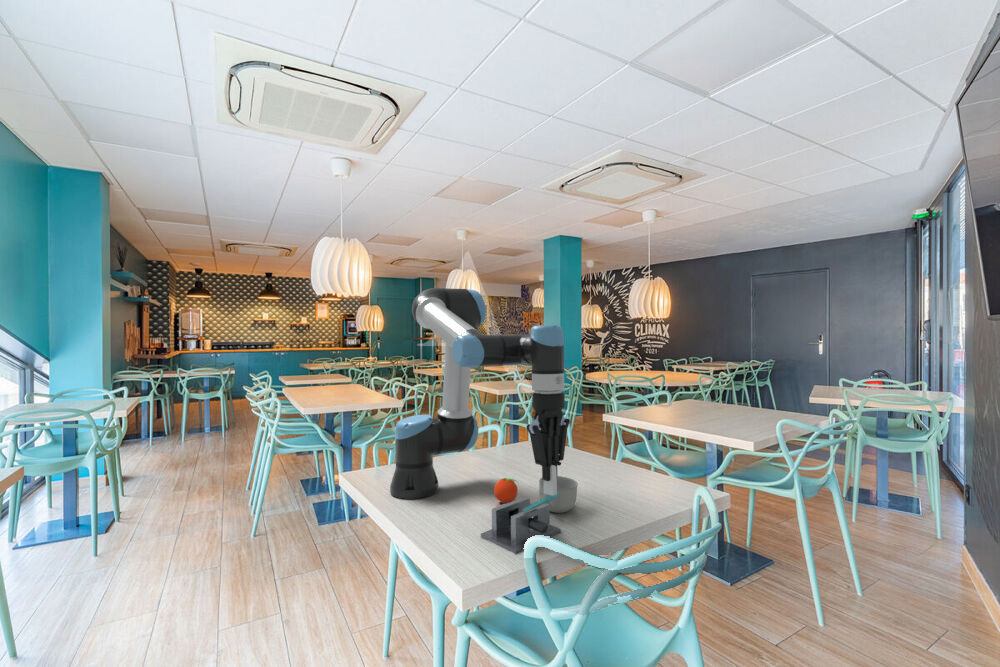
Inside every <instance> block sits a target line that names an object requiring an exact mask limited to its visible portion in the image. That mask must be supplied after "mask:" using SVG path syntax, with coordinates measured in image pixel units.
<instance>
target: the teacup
mask: <svg viewBox="0 0 1000 667" xmlns="http://www.w3.org/2000/svg"><path fill="white" fill-rule="evenodd" d="M538 482H539V489H538V495H539V496H538V497H539V501H540V500H542V499H543V498H546V497H548V496H551V495H548V494H545V493H544V480H543V479H542V477H540V478H539V480H538ZM578 485H579V484H578V482H577V481H576V480H575V479H573V478H570V477H567V476H562V475H557V493H559V495H560V496H558V497H556V498H554V499H552V500H550V501H548V502H546V503H545V504H548V505H549V507H550V512H552V513H559V514H563V513H564V514H565V513H567V512H569V511H570V510H572V509H573V508H574V507H575V506H576V503H577V495H578Z"/></svg>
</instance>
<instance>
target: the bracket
mask: <svg viewBox="0 0 1000 667" xmlns="http://www.w3.org/2000/svg"><path fill="white" fill-rule="evenodd" d="M530 505H531V498H530V497H527V496H524V497H521V498H519V499H514V500H513V501H512V502H510V503H503V504H502V505H499V506H496V507H492V508H491V529H489V530H487V531H484V532H482V533H480V538H482V539H484V540H486V541H488V542H491V543H492V544H494V545H497V546H500V547H501V548H503V549H505V550H507V551H509V552H511V553H514V554H517V553H518V554H519V553H520V552H522V551H524V550H523V548H524V544H525V542H526V541H527V539H528V538H530V537H532V536H535V535H544V536H550V538H551V537H554V536H555V535H558V534H560V533H562V528H559V527H556V526H555V525H551V523H550V522H551V521H550V518H551V517H550V515H551V514H550V512H551V511H550V507H549V505H548V504H545V503H544V504H542V505H540V506H538V507H536V508H533V509H531V510H528V511H525V512H523V509H524V508H526V507H528V506H530ZM511 510H514V511H516V512H518V514H516V515H513V516H511V521H509V511H511ZM529 518H534V519H537V520H539V521H542V522H545V523H547V525H548V529H547V531H546V533H544V534H543V533H540V532H538V531H535V530H533V529H530V528H529V527H528V519H529Z"/></svg>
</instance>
